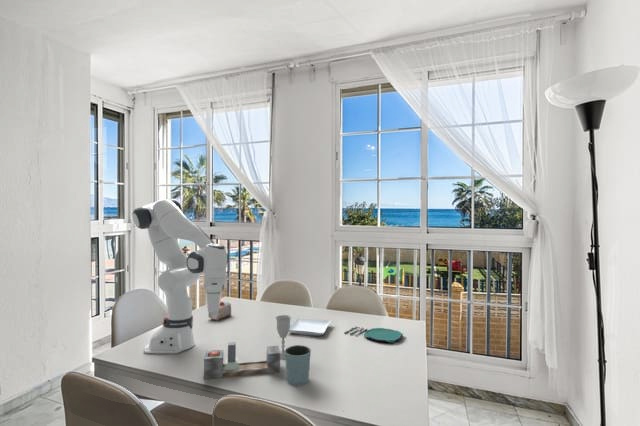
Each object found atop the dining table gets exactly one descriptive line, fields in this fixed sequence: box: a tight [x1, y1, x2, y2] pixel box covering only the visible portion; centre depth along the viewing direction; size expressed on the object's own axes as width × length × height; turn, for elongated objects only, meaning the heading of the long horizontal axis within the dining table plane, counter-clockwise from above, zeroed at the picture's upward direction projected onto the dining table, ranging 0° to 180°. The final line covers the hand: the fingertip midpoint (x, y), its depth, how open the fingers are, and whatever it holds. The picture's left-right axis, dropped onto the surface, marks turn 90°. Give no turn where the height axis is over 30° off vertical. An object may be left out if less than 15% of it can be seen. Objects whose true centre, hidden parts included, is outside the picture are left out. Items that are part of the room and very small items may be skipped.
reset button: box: [209, 350, 219, 357], centre depth 140 cm, size 4×4×4 cm
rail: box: [203, 345, 281, 380], centre depth 143 cm, size 30×8×8 cm, turn 103°
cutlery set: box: [343, 326, 403, 344], centre depth 187 cm, size 20×30×2 cm, turn 57°
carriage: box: [224, 341, 239, 371], centre depth 142 cm, size 5×5×10 cm
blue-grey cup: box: [284, 344, 312, 386], centre depth 136 cm, size 10×10×12 cm
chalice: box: [275, 314, 292, 360], centre depth 157 cm, size 7×7×18 cm
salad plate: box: [288, 317, 332, 337], centre depth 194 cm, size 21×21×3 cm
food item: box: [208, 301, 232, 321], centre depth 214 cm, size 14×8×10 cm, turn 153°
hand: (214, 317), depth 140 cm, fingers closed
